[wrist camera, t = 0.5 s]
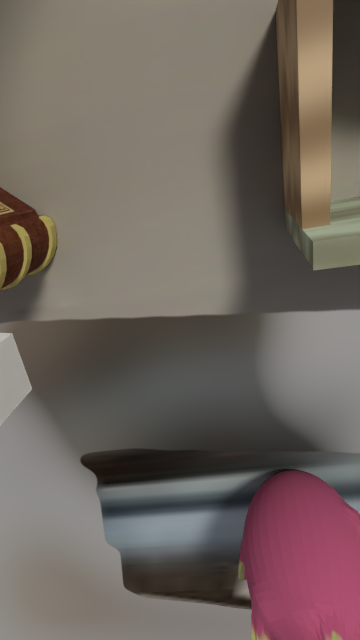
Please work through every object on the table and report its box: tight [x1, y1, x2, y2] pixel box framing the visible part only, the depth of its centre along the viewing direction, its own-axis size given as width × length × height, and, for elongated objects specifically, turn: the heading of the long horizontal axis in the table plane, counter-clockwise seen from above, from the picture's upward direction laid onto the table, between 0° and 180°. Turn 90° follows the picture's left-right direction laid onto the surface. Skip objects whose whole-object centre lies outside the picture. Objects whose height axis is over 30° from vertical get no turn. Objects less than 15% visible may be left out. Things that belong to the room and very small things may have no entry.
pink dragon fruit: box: [238, 470, 360, 640], centre depth 38 cm, size 18×14×30 cm
